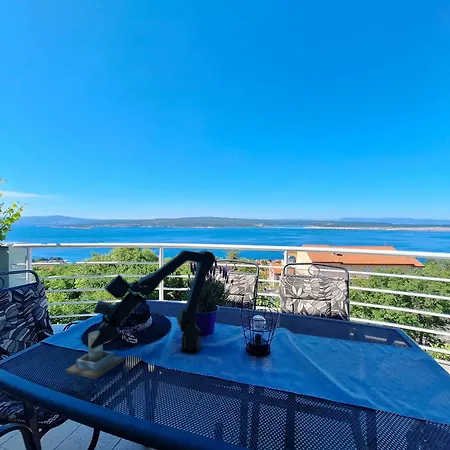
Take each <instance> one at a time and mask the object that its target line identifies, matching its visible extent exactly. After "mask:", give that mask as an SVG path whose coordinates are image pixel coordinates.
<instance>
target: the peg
mask: <svg viewBox="0 0 450 450" xmlns="http://www.w3.org/2000/svg"><path fill="white" fill-rule="evenodd" d="M99 333H100V332H99V331H97V330H95V331H91V332H88V336H87V337H88V346H87V347H88V353H89V361H90V362H95V363H96V362H97V361H99V360H101V359H102V358H103V351H104V348H103V347H104V346H103V345H104V344H102V345H100V346H98V347H96V348H94V349H92V348H91V345H92V343H93V342H94V340H95V339H96V338H97V336H98V335H99Z"/></svg>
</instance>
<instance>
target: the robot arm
mask: <svg viewBox="0 0 450 450" xmlns="http://www.w3.org/2000/svg"><path fill="white" fill-rule="evenodd" d="M186 262H192V263H195V265H196V266H195V268H196V269H195V274H194V278H193V281H192V283H191V287H190V290H189V294H188V296H187V301H186V304H185V306H184V307H183V309H182V308H179V309H178V314H177V317H176V318H175V319H176V320H177V322H176V323H177V325H178V327H179V329H180V331H181V332H182V334H181V335H182V337H181V341H180V342H181V343H180V344H181V349H180V352H181V353H185V354H187V353H188V354H192V355H196V354H198V352H199V351H200V350H201V349H202V348H203V346H202V345H201V333H202V331H201V329H200V328H199V327H198V325H197V324H196V323H197V322H196V321H197V308H198V305H199V302H200V298H201V294H202V291H203V288H204V285H205V281H206V279H207V275H208V274H209V272H210V271H211V270H212V268H213V266H214V264H215V262H216V256H215V254H214V253H213V252H211V251H208V250H201V251H190V250H187V249H182V250H180V252H179V253H177V255H176V256H174V257H173V258H171V259H170V260H169V261H168V262H166V263H165V264H163V266H161V267H160V268H158V269H157V270H156V271H154V272H152V273H149V274H146V275H145V276H143V277H141V278H139V280H138V281H137V280H136V281H133V282H128V281H127V280H125V278H123V276H122V275H120V274H118V275H117V276H115V277H114V278H113V279H112V280H111V281H109V282H108V283H107V284H106V286H105V287H104V290H105V291H106V292H107V293H108V294H110V295H111V296H112V297H114V298H115V299H116V300H117V299H121V300H120V301H119V302H116V303H115V304H111V303H110V302H108V301H107V302H106V301H102V300H98V301H97V304H96V305H95V307H94V309H93V313H95V314H100V315H102V321H101V324H100V325H99V326H98V328H97V330H96V331H99V332H100V333H99V335H98V336H97V338H96V339H95V340H94V342H93V343H92V345H91V348H92V349H94V348H96V347H98V346H100V345H102V344H103V345H104V344H106V343H109V342H111V341H113V340H114V341H115V340H117V338H118V337H119V336H120V328H121V326H123V325H122V322H123V321H124V320H125V319H126V318H129V317H130V314H131V313H132V312H133V311H134V309H135V308H136V309H137V308H138V306H139V305H140V304H142V305H144V306H147V300H148V299H147V296H149V295H152V293H153V292H154V291H155V290H156V289H157V288H158V287H159V286H160V284H161V283H162V281H163V280H164V279H166V278H168V276H170V275H171V274H173V272H175V271H176V270H178V268H180V267H181V266H183V265H184V264H185V263H186Z"/></svg>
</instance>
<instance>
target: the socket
mask: <svg viewBox="0 0 450 450" xmlns="http://www.w3.org/2000/svg"><path fill="white" fill-rule="evenodd" d="M124 359H125V358H124V357H122V356H117V355H115V352H113V351H107V350H103V358H102V359H101V360H99V361H97V362H96V363H95V362H90V361H89V352H88V353H86V354H85V355H83V356H80V357H79V358H77V359H75V364H72V365H71V366H69V367H68V368H66V369H65V373H66V374H70V375H74V376H77V377H82V378H88V379H91V380H94V381H95V380H97V379H98V378H100V377H102V376H103V375H105V374H106V373H107V372H109V371H110V370H112V369H113V368H116V366H118V365H119V364H120V363H123V362H124V361H125V360H124Z"/></svg>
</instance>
